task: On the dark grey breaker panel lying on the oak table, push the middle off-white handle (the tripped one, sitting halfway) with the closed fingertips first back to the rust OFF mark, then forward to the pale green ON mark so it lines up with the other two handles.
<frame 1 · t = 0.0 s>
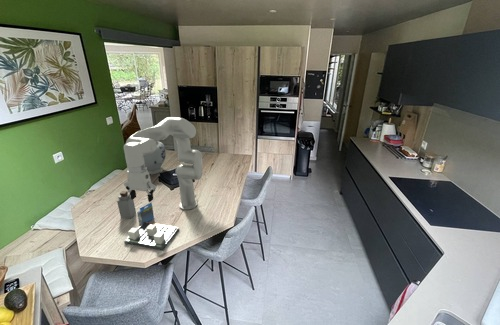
hand: (142, 199, 119), 31 cm above the table, fingers open, 9 cm apart
breaker high: (159, 237, 132), point 5 cm above the table, slide at 5.0 cm
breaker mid: (151, 230, 138), point 5 cm above the table, slide at 0.0 cm
label tape box: (146, 220, 155), on the table
panel: (153, 236, 140), on the table
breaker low: (134, 233, 135), point 5 cm above the table, slide at 5.0 cm
ceramic vase: (153, 171, 227), on the table
perfume bottle: (128, 216, 159), on the table
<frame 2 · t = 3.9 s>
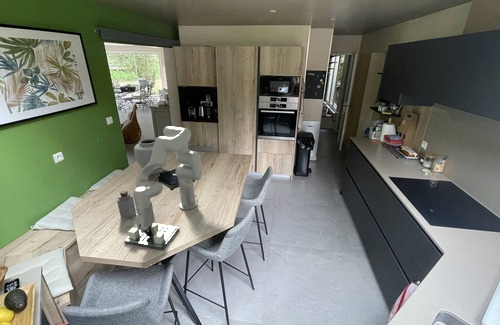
hand: (149, 235, 136), 3 cm above the table, fingers closed
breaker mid: (153, 228, 140), point 5 cm above the table, slide at -1.5 cm, touching gripper
everything else where it was.
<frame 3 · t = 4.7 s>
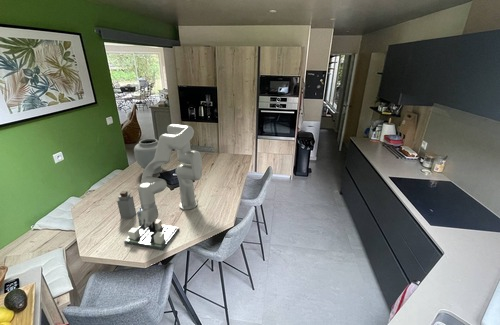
hand: (152, 231, 139), 3 cm above the table, fingers closed
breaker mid: (156, 224, 143), point 5 cm above the table, slide at -5.1 cm, touching gripper
everything else where it was.
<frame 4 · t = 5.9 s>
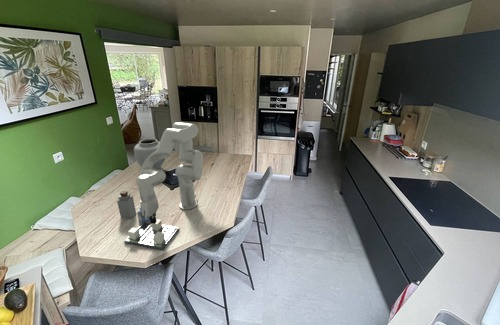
hand: (153, 222, 139), 8 cm above the table, fingers closed
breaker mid: (156, 224, 143), point 5 cm above the table, slide at -5.0 cm
everything else where it was.
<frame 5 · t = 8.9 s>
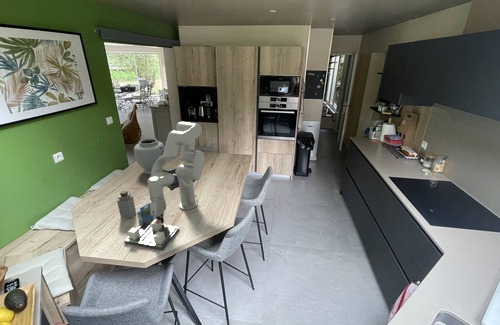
hand: (160, 222, 147), 3 cm above the table, fingers closed
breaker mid: (156, 225, 143), point 5 cm above the table, slide at -4.7 cm, touching gripper
everything else where it was.
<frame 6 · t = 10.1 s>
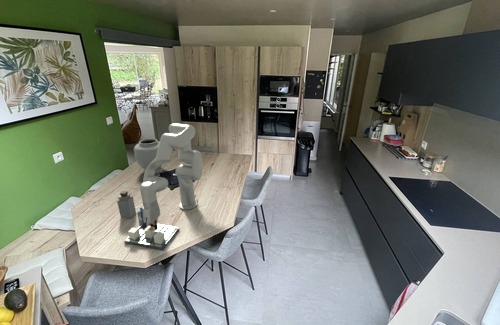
hand: (154, 229, 141), 3 cm above the table, fingers closed
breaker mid: (149, 232, 137), point 5 cm above the table, slide at 1.9 cm, touching gripper
everything else where it was.
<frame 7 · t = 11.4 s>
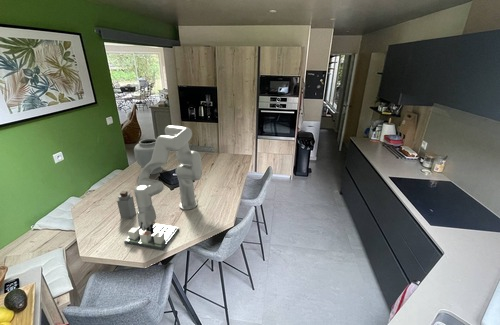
hand: (150, 233, 138), 3 cm above the table, fingers closed
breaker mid: (145, 236, 133), point 5 cm above the table, slide at 5.8 cm, touching gripper, panel
everything else where it was.
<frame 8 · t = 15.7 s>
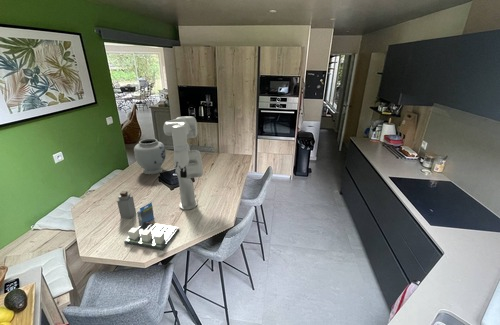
hand: (183, 177, 139), 33 cm above the table, fingers closed
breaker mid: (146, 235, 134), point 5 cm above the table, slide at 5.0 cm
everything else where it was.
at the end: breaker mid slide at 5.0 cm; breaker high slide at 5.0 cm; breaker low slide at 5.0 cm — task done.
